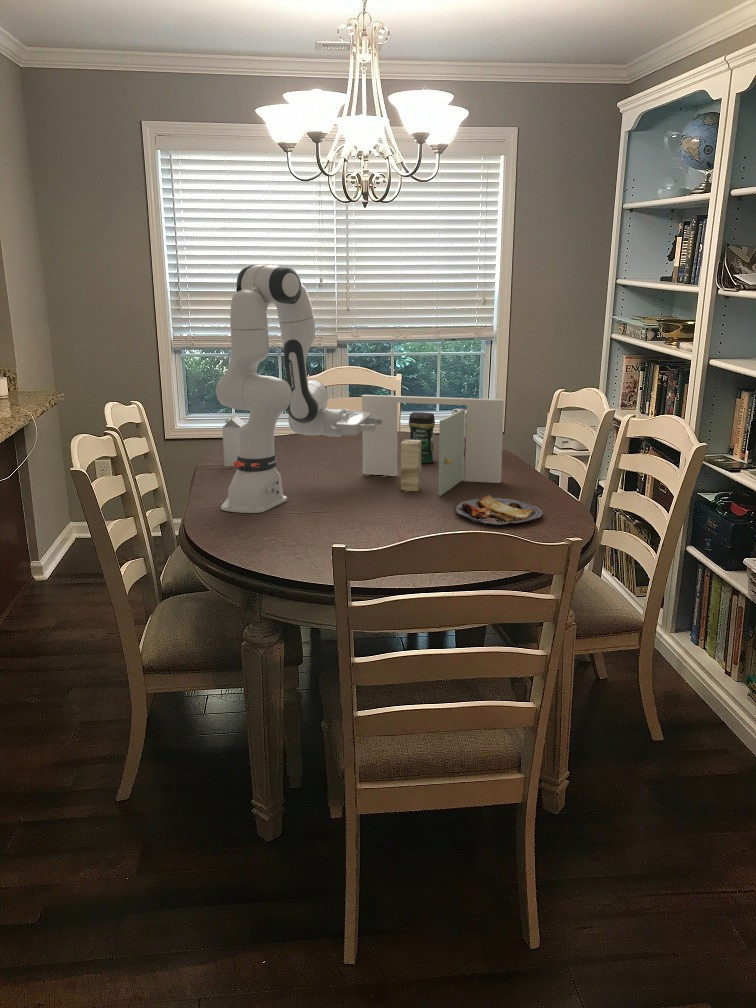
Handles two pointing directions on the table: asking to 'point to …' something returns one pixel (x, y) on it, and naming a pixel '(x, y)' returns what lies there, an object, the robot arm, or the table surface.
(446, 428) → the door
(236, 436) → the milk carton
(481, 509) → the food plate
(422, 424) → the coffee jar
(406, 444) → the doorstop block
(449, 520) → the table surface
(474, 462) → the door frame
